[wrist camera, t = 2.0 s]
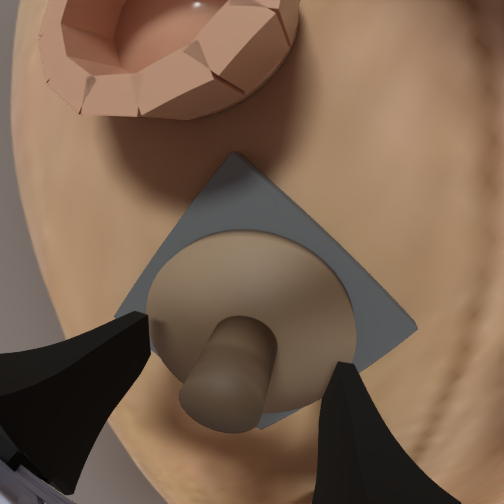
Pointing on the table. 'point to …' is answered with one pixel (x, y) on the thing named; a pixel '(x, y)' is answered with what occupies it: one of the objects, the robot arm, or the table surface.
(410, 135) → the table surface
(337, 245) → the mat
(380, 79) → the table surface
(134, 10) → the bowl
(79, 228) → the table surface
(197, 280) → the lid
